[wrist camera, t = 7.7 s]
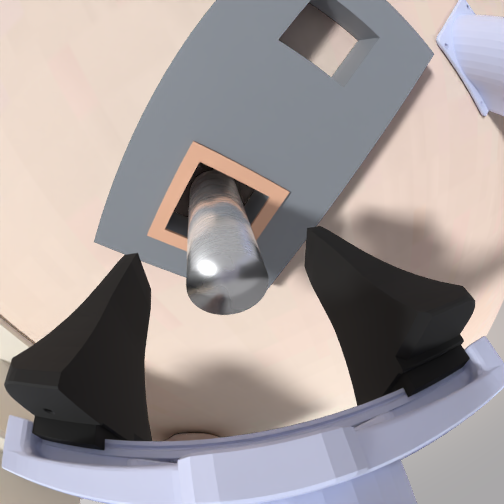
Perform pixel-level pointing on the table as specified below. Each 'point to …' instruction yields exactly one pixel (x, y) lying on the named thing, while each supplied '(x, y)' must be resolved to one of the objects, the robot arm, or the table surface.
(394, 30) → the dock plate
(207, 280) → the steel pin
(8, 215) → the table surface
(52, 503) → the desk organizer
